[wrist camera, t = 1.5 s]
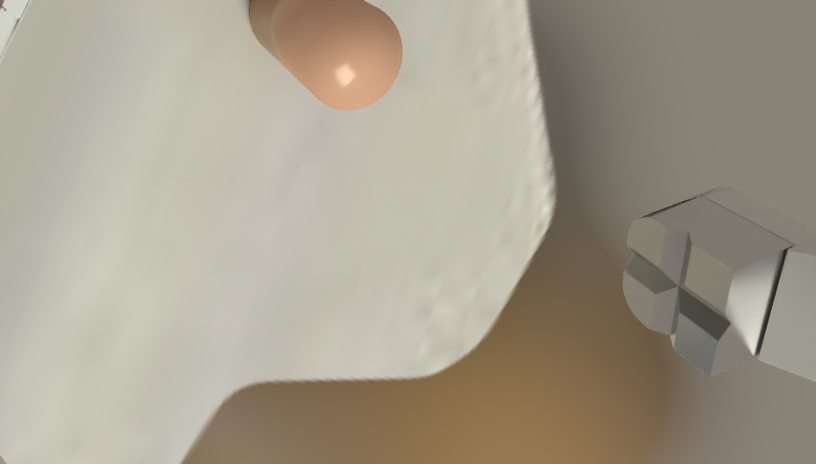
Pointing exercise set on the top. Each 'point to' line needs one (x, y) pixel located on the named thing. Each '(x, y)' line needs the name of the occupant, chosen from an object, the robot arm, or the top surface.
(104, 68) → the top surface
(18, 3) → the small box
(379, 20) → the tan round cylinder
